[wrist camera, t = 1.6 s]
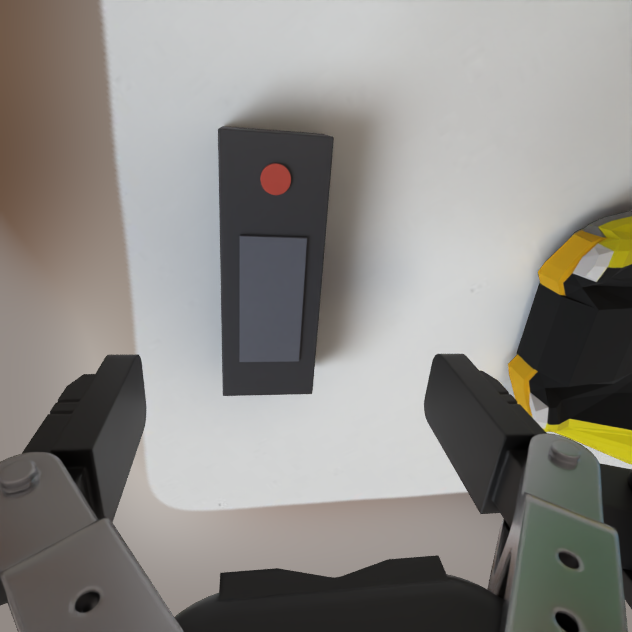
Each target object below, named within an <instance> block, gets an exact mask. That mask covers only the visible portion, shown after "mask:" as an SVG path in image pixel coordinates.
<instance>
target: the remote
mask: <svg viewBox="0 0 632 632" xmlns="http://www.w3.org/2000/svg"><path fill="white" fill-rule="evenodd" d="M333 140H334V138H333V137H332V136H328V135H325V134H317V133H304V132H290V131H277V130H264V129H250V128H237V127H224V126H222V127H221V128H219V129H218V150H219V205H220V261H221V317H222V372H223V396H238V395H283V394H312V390H313V378H314V366H315V354H316V342H317V330H318V319H319V307H320V295H321V283H322V271H323V259H324V247H325V235H326V223H327V212H328V200H329V188H330V176H331V164H332V152H333Z"/></svg>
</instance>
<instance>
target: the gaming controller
mask: <svg viewBox="0 0 632 632" xmlns="http://www.w3.org/2000/svg"><path fill="white" fill-rule="evenodd" d="M538 275H539V279H540V283H539V286H538V289H537V292H536V295H535V298H534V301H533V305H532V308H531V311H530V314H529V317H528V320H527V323H526V326H525V329H524V332H523V335H522V338H521V341H520V344H519V347H518V351H517V355H516V356H515V357H514V359H513V360H512V361H511V362H510V363H509V364H508V367H509V376H510V380H511V384H512V388H513V391H514V395H515V399H516V401H517V403H518V404H520V405H521V406H522V407H523V408H524V409H525V410H526V411H527V412H528V414H529V415H530V416H531V417H532V418H533V419H534V420H535V421H536V422H537V423H538V424H539V425H540V426H541V428H542V429H543V430H544V431H545V432H555V433H557V434H560V435H562V436H565V437H567V438H570V439H572V440H575V441H577V442H579V443H582V444H584V445H586V446H589V447H591V448H593V449H596V450H598V451H600V452H603V453H605V454H607V455H610V456H612V457H614V458H617V459H619V460H621V461H624V462H626V463H628V464H632V211H628V212H624V213H620V214H616V215H612V216H609V217H605V218H601V219H599V220H597V221H595V222H593V223H590V224H588V225H587V227H586V228H583V229H580V230H578V231H577V232H575V233H574V234H573V235H572V236H571V238H570V239H569V240H568V241H567V242H566V243H565V244H564V245H563V246H561V247H560V248H559V249H558V250H557V251H556V252H555V253H554V254H553V255H552V256H551V257H550V258H549V259H548V260H547V261H546V262H545V263H544V265H543V266H542V267H541V268H540V270H539V271H538Z"/></svg>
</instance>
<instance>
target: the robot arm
mask: <svg viewBox="0 0 632 632" xmlns="http://www.w3.org/2000/svg"><path fill="white" fill-rule="evenodd" d="M424 411H425V416H426V419H427V422H428V423H429V425H430V427H431V429H432V430H433V432H434V434H435V436H436V437H437V439H438V441H439V443H440V444H441V446H442V448H443V449H444V451H445V453H446V455H447V456H448V458H449V460H450V462H451V463H452V465H453V467H454V469H455V470H456V472H457V474H458V476H459V477H460V479H461V481H462V482H463V484H464V486H465V488H466V489H467V491H468V493H469V495H470V496H471V498H472V500H473V501H474V503H475V505H476V507H477V508H478V510H479V512H480V513H481V514H488V513H501V515H502V516H503V518H504V519H503V522H502V525H501V527H500V531H499V537H498V541H497V546H496V551H495V556H494V560H493V566H492V570H491V575H490V580H489V585H488V589H485V588H483V587H481V586H479V585H477V584H475V583H472V582H470V581H468V580H465V579H462V578H459V577H455V576H452V575H447V574H446V572H445V570H444V568H443V565H442V563H441V561H440V558H439V556H426V557H414V558H401V559H389V560H385V561H383V562H380V563H378V564H374V565H372V566H369V567H366V568H363V569H361V570H358V571H355V572H352V573H350V574H347V575H344V576H341V577H336V578H332V577H325V576H319V575H313V574H307V573H302V572H296V571H290V570H283V569H277V568H276V569H264V570H252V571H239V572H226V573H221V574H220V590H219V593H217V594H214V595H212V596H208V597H206V598H204V599H202V600H200V601H198V602H196V603H194V604H193V605H191V606H190V607H188V608H186V609H185V610H183V611H182V612H180V613H179V614H178V615H176V616H175V617H174V616H173V615H172V613H171V611H170V610H169V608H168V607H167V605H166V604H165V602H164V601H163V599H162V598H161V596H160V595H159V593H158V591H157V590H156V589H155V587H154V585H153V584H152V582H151V581H150V579H149V578H148V576H147V575H146V573H145V572H144V570H143V569H142V567H141V566H140V564H139V563H138V561H137V560H136V558H135V556H134V555H133V553H132V552H131V551H130V549H129V548H128V546H127V544H126V543H125V541H124V540H123V538H122V537H121V535H120V534H119V532H118V530H117V529H116V527H115V526H114V525H113V523H112V522H113V519H114V516H115V513H116V510H117V508H118V505H119V502H120V499H121V496H122V493H123V489H124V487H125V484H126V481H127V478H128V475H129V472H130V469H131V466H132V463H133V460H134V457H135V454H136V451H137V448H138V445H139V442H140V439H141V436H142V433H143V430H144V427H145V421H146V399H145V390H144V380H143V371H142V362H141V358H140V356H139V355H107V356H106V357H105V359H104V361H103V362H102V364H101V366H100V367H99V369H98V371H97V373H96V374H84V375H82V376H81V377H79V378H78V379H77V380H75V381H74V382H72V383H71V384H70V385H68V386H67V387H66V389H65V390H64V392H63V393H62V394H61V396H60V397H59V399H58V403H56V404H55V405H54V406H53V408H52V410H51V411H50V414H48V415H47V417H46V418H45V420H44V421H43V423H42V424H41V426H40V427H39V429H38V430H37V432H36V433H35V435H34V436H33V438H32V439H31V441H30V442H29V444H28V445H27V447H26V448H25V449H24V451H23V453H22V454H19V455H16V456H13V457H10V458H8V459H5V460H3V461H1V462H0V605H3V604H5V603H8V605H9V608H10V610H11V614H12V616H13V619H14V622H15V625H16V628H17V630H18V632H628V629H627V618H626V608H625V600H626V602H627V603H628V604H629V606H630V607H631V609H632V470H631V469H626V468H621V467H615V466H610V465H605V464H600V463H599V462H598V460H597V458H596V457H595V456H594V455H593V454H592V452H590V451H589V450H588V449H587V448H585V447H584V446H583V445H581V444H579V443H577V442H576V441H573V440H571V439H569V438H566V437H563V436H560V435H555V434H547V433H546V432H545V431H544V430H543V429H542V428H541V426H540V425H539V424H538V423H537V422H536V421H535V420H534V419H533V418H532V417H531V416H530V415H529V414H528V412H527V411H526V410H525V409H524V408H523V407H522V406H521V405H520V404H517V401H516V400H515V398H514V397H513V396H512V395H511V394H509V392H508V391H507V390H506V389H505V388H504V387H503V386H502V384H501V383H500V382H499V381H498V380H496V379H495V378H493V377H491V376H490V375H488V374H486V373H485V372H483V371H479V370H478V369H477V368H476V367H475V365H474V364H473V363H472V362H471V361H470V360H469V359H468V358H467V356H465V355H464V354H437V355H435V357H434V359H433V362H432V366H431V371H430V376H429V380H428V385H427V390H426V395H425V400H424Z"/></svg>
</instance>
